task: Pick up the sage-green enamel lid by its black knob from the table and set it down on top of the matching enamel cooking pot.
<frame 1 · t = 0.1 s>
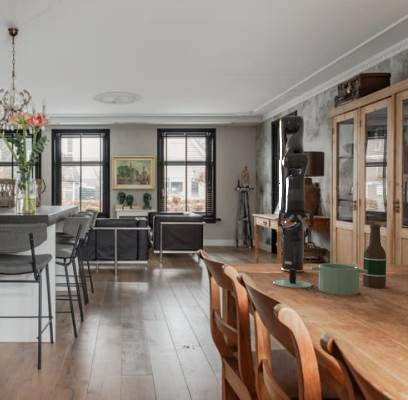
hand: (295, 236, 190), 17 cm above the table, tool pointing down, fingers open, 8 cm apart
pot: (338, 292, 159), on the table
beer bottle: (374, 286, 170), on the table
lid: (292, 284, 169), point 1 cm above the table
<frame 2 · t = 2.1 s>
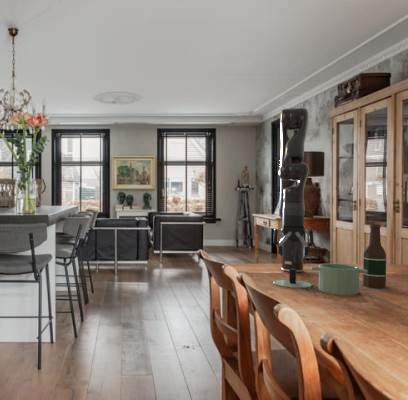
hand: (292, 256, 169), 12 cm above the table, tool pointing down, fingers open, 8 cm apart
nothing on the table moved.
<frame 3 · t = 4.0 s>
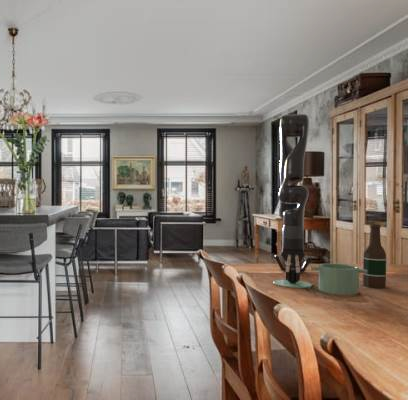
hand: (292, 281, 169), 2 cm above the table, tool pointing down, fingers closed on lid, 2 cm apart
lid: (292, 284, 169), point 1 cm above the table, touching gripper
everything else where it was.
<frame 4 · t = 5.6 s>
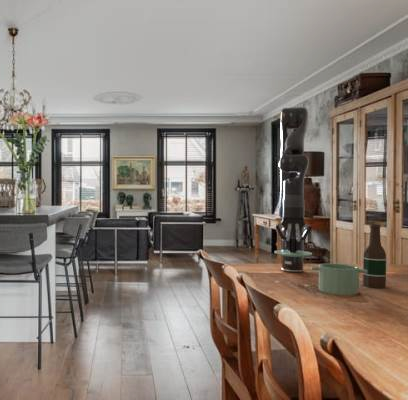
hand: (292, 250, 169), 14 cm above the table, tool pointing down, fingers closed on lid, 2 cm apart
lid: (292, 253, 169), point 13 cm above the table, touching gripper
everything else where it was.
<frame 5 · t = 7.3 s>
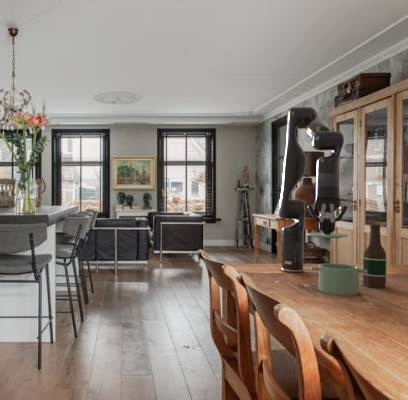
hand: (326, 232, 161), 22 cm above the table, tool pointing down, fingers closed on lid, 2 cm apart
lid: (326, 235, 161), point 20 cm above the table, touching gripper
everything else where it was.
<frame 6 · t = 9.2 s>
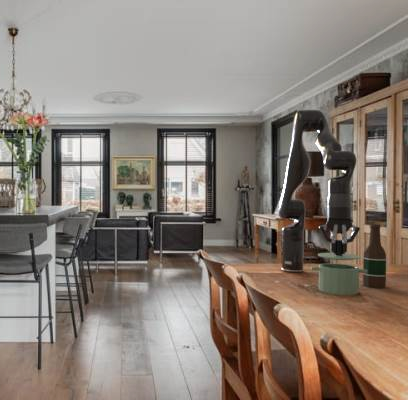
hand: (338, 253, 159), 14 cm above the table, tool pointing down, fingers closed on lid, 2 cm apart
lid: (338, 256, 159), point 13 cm above the table, touching gripper
everything else where it was.
when the fingers open (11 cm above the table, at t = 10.4 s): lid stays where it is, resting on pot.
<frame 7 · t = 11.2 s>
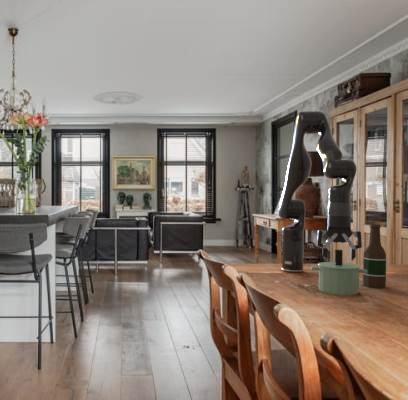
hand: (338, 259, 159), 12 cm above the table, tool pointing down, fingers open, 8 cm apart
lid: (338, 266, 159), point 9 cm above the table, touching pot
everything else where it was.
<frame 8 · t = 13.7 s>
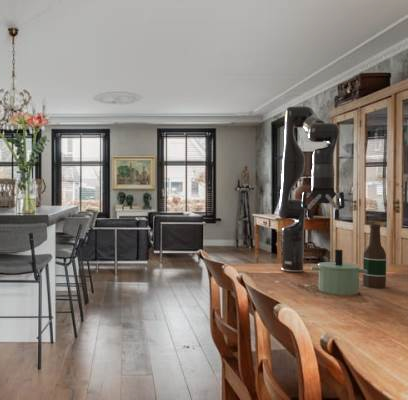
hand: (322, 219, 164), 26 cm above the table, tool pointing down, fingers open, 8 cm apart
nothing on the table moved.
at the end: lid 0.0 cm off-centre on the pot, point 9.5 cm above the pot's base; lid tilted 0° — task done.
